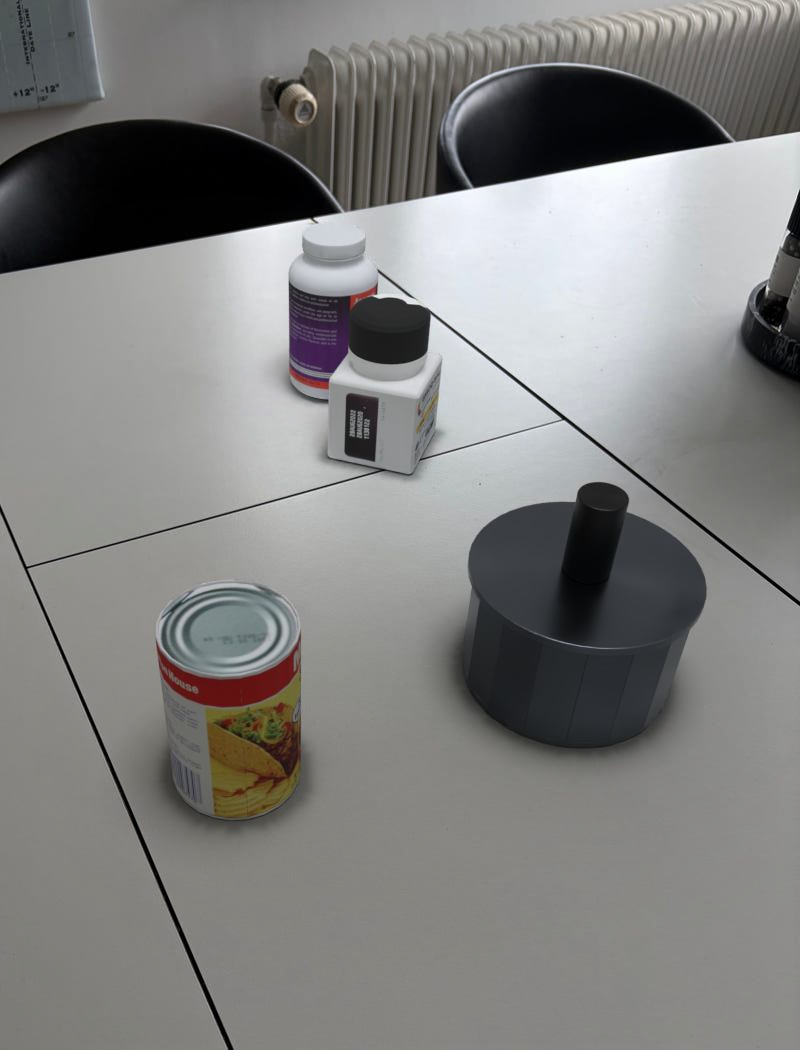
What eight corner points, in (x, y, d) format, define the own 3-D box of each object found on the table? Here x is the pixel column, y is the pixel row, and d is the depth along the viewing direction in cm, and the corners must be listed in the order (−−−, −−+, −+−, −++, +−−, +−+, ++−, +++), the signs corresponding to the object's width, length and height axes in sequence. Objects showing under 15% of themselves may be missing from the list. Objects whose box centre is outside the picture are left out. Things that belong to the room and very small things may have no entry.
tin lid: (664, 514, 71) (689, 428, 67) (734, 662, 60) (770, 572, 56) (452, 516, 71) (462, 430, 66) (485, 666, 60) (500, 575, 55)
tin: (635, 606, 76) (662, 511, 70) (690, 745, 66) (728, 648, 60) (450, 609, 76) (463, 513, 70) (478, 750, 66) (495, 652, 60)
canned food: (327, 770, 64) (331, 625, 56) (231, 843, 60) (221, 698, 52) (241, 704, 68) (234, 560, 60) (146, 769, 64) (124, 624, 56)
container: (411, 476, 88) (424, 333, 79) (326, 458, 90) (328, 316, 81) (436, 431, 94) (450, 293, 85) (354, 415, 95) (360, 278, 87)
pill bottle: (358, 411, 96) (365, 257, 86) (277, 396, 98) (274, 244, 88) (383, 371, 102) (391, 223, 92) (305, 358, 103) (305, 211, 94)
